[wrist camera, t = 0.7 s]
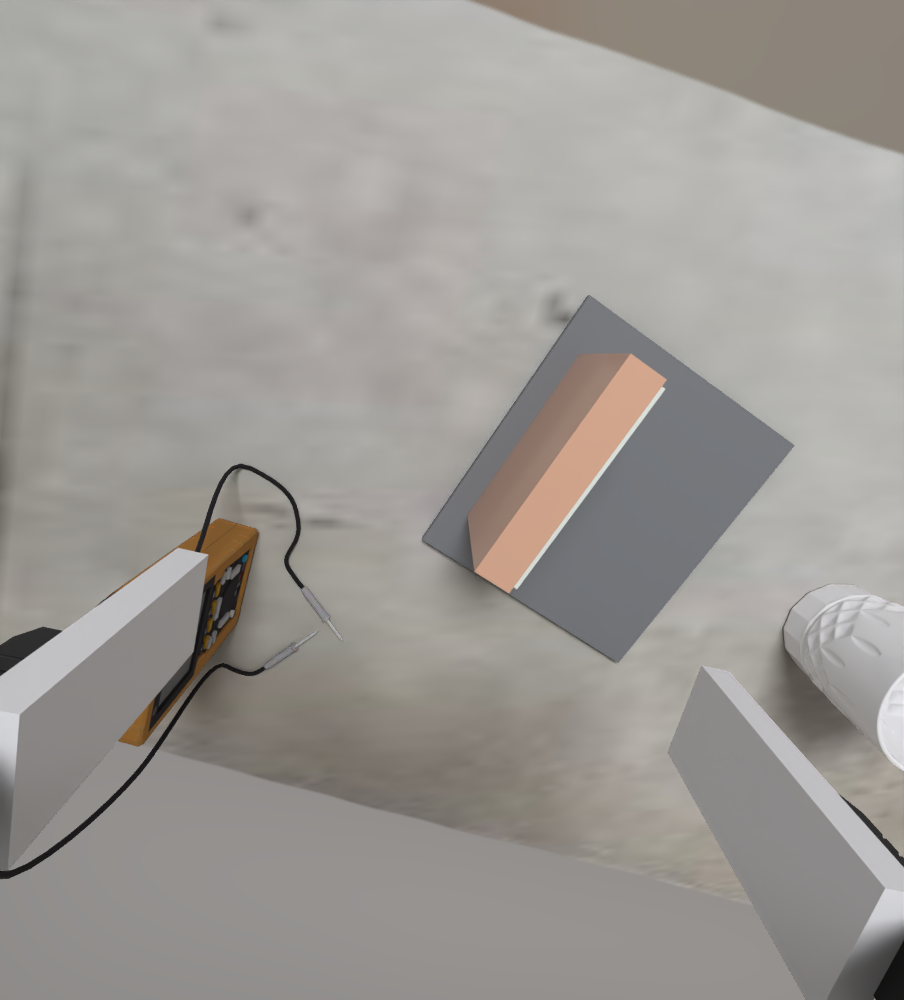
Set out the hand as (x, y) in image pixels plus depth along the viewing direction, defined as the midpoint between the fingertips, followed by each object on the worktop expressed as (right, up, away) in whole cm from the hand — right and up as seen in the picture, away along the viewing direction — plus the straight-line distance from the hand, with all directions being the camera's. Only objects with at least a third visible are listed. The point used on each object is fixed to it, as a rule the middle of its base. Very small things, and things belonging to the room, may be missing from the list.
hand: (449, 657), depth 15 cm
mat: (+10, +5, +22) cm, 25 cm away
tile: (+5, +7, +21) cm, 23 cm away
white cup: (+26, -5, +25) cm, 37 cm away
